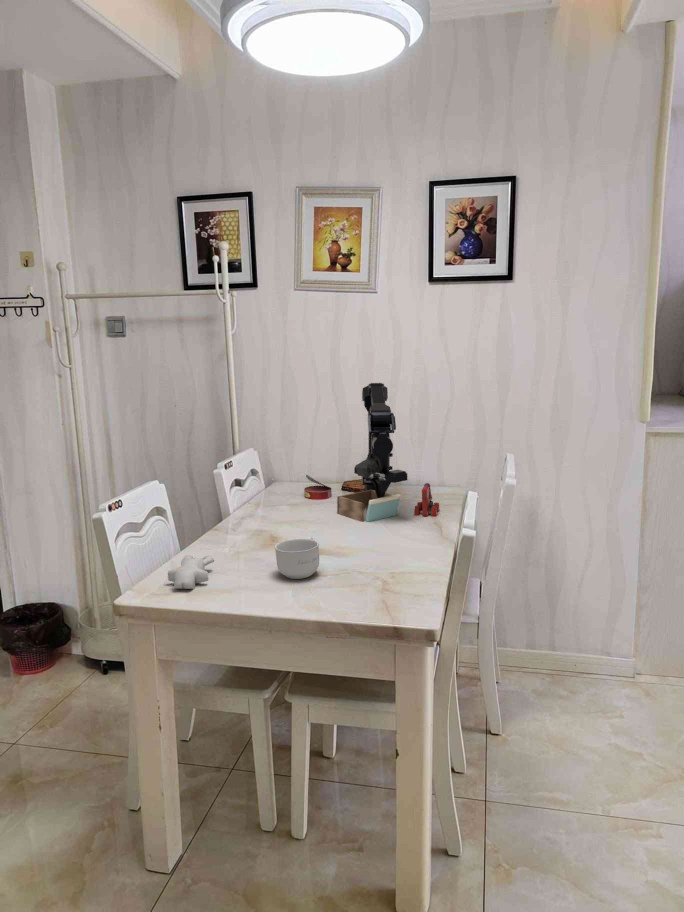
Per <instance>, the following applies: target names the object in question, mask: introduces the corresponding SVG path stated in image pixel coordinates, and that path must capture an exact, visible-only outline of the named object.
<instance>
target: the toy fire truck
mask: <svg viewBox="0 0 684 912" xmlns="http://www.w3.org/2000/svg"><path fill="white" fill-rule="evenodd" d="M431 491H432V490H431V485H430V483H429V482H426V483H424V484H423V487H422V490H421V499H422V500H421V501H418V502H417V505H415V506H414V511H413V515H414V516H418V517H419V516H420V515H422V517H427V516H429V515H430V516H431V517H432V518H433V517H434V518H435V517H437V515H438V513H439V511H440V502H434V501H433V495H432V492H431Z"/></svg>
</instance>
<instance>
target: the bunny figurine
mask: <svg viewBox="0 0 684 912" xmlns="http://www.w3.org/2000/svg"><path fill="white" fill-rule="evenodd" d="M214 562H215V559H214V557H213V555H206V556H204V557H203V558H197V557H195V558H194V556H193V555H188V554H187V555H184V556H183V558H182V559H181V561H180V566H179V567H177V568H174V569H173V568H172V569H171V570H168V571H167V580H168V581H169V582H172V583H173V586H174V587H173V588H174V589H179V590H180V589H181V590H182V589H183V590H194V589H196V584H201V583H205V582H208V581H209V572H208V571H206V570H205V567H206V566H208V565H210V564H213V563H214Z"/></svg>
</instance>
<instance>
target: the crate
mask: <svg viewBox="0 0 684 912" xmlns="http://www.w3.org/2000/svg"><path fill="white" fill-rule="evenodd" d="M391 495H392V494H389V493H387V492H386V493H385V495H384V497H387V496H391ZM336 497H337V498H336V502H337V503H336V504H337V507H336V508H337V510H336V511H337V512H336V513H337V515H340V516H343V517H345V518H349V519H352V520H355V521H357V522H361V523H363V522H364V521H365V516H364V515H365V512H364V511H365V510H366V509H368V505H369V500H373V499H377V498H378V497H377V494H376V491H375V490H367V491H365V490H363V491H358V492H353V493H348V494H342V495H337V496H336Z"/></svg>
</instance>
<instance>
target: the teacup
mask: <svg viewBox="0 0 684 912" xmlns="http://www.w3.org/2000/svg"><path fill="white" fill-rule="evenodd" d="M319 545H320V542H319V541H318V540H316V539H313V537H312V536H306V537H305V538H304V537H302V538H301V537H300V538H299V537H298V538H297V537H296V538H290V539H285V540H282V541H280V542H278V543H275V545H274V550H275V559H276V565H277V566H276V567H277V569H278V571H279V573H280V574H282V575H283V576H284V577H286V578H288V579H292V580H300V579H305V578H309V577H311V576H312V575H314V573H315V572H316V571H317V570H318V568H319V566H320V548H319V547H320V546H319Z"/></svg>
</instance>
